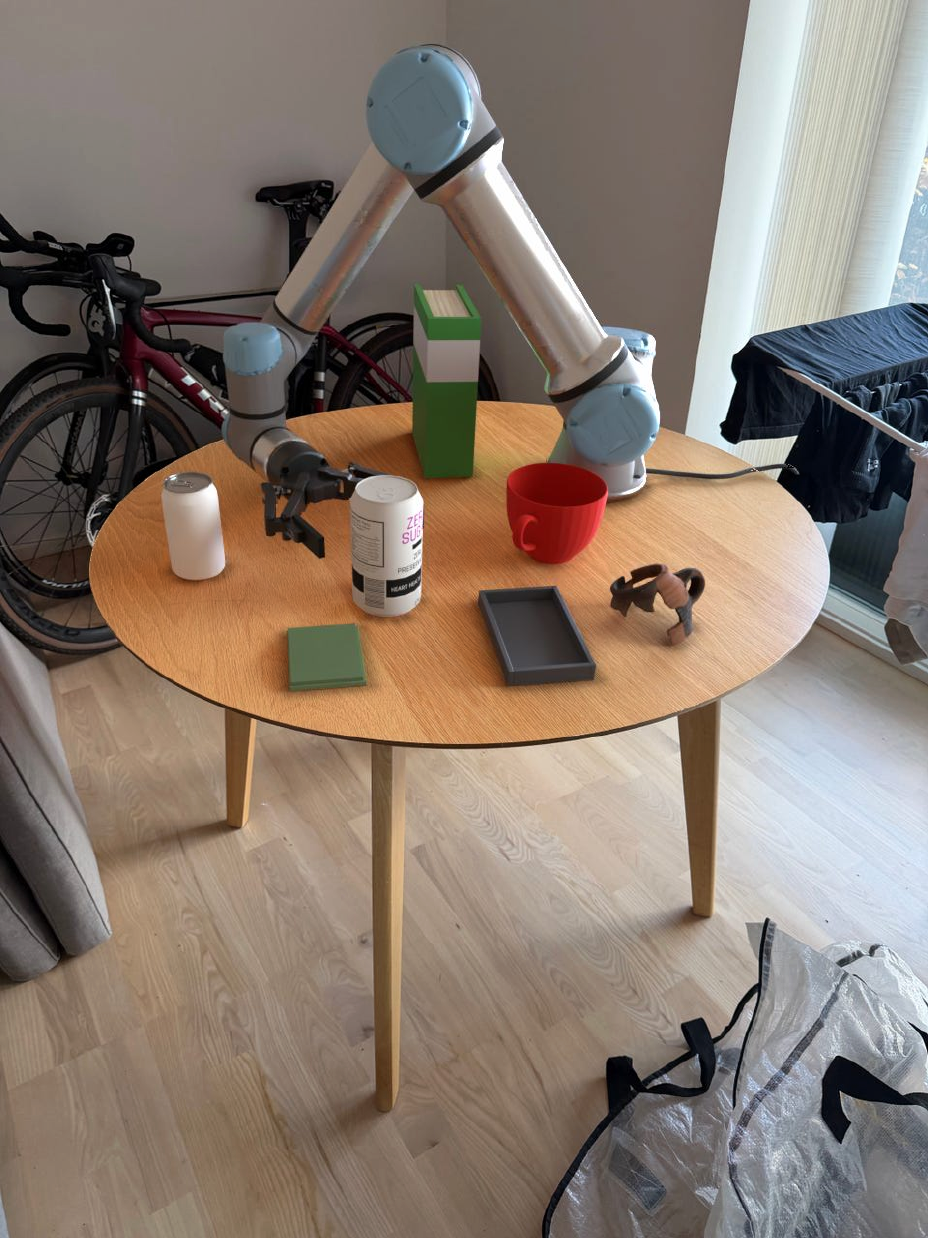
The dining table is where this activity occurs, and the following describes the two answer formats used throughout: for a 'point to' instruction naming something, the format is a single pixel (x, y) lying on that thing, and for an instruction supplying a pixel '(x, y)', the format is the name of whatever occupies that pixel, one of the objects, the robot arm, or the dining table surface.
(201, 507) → the can
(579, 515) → the ceramic cup
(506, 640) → the pan
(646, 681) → the dining table surface
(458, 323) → the hardback book
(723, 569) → the dining table surface
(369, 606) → the supplement can
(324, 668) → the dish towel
